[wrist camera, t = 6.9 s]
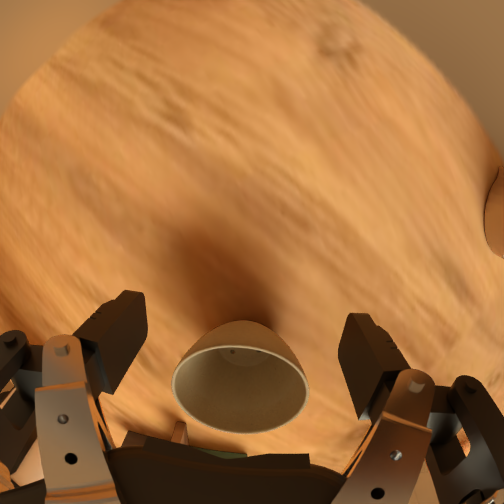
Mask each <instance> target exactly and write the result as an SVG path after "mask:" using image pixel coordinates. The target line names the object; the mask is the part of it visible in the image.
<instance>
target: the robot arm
mask: <svg viewBox="0 0 504 504" xmlns="http://www.w3.org/2000/svg"><path fill="white" fill-rule="evenodd" d="M485 233H486V239H487V242H488V245H489V247H490V248H491V250H492V251H493V252H494V253H495V254H496V255H498V256H500V257H502V258H503V259H504V167H499V174H498V177H497V179H496V181H495V182H494V184H493V185H492V188H491V190H490V192H489V195H488V199H487V203H486V209H485ZM147 332H148V324H147V315H146V305H145V296H144V294H143V293H142V292H136V291H130V290H124V291H123V292H122V293H121V294H120V295H119V296H118V297H117V298H116V299H115V300H111V301H109V302H107V303H104V304H102V305H101V306H100V307H99V308H98V309H97V310H96V311H95V313H93V314H92V315H91V316H90V318H88V319H87V320H86V321H85V322H84V323H83V324H82V325H81V326H80V327H79V328H78V329H77V330H76V331H75V332H74V333H73V335H66V334H64V335H57V336H54V337H52V338H50V339H49V340H48V341H47V342H46V343H45V344H44V346H38V345H29V342H28V340H27V337H26V335H25V333H23V332H22V331H19V330H12V331H8V332H5V333H3V334H2V335H1V336H0V392H1V391H2V389H3V388H4V387H5V386H6V384H7V383H8V382H9V381H10V379H11V380H12V382H13V384H14V386H15V388H16V390H15V391H14V393H13V394H12V395H11V397H10V398H9V399H8V401H7V402H6V404H5V405H4V406H3V408H2V409H1V408H0V504H408V502H409V500H410V498H411V495H412V493H413V490H414V488H415V485H416V483H417V480H418V477H419V474H420V472H421V469H422V466H423V463H424V460H425V459H426V462H427V465H428V468H429V471H430V474H431V478H432V481H433V484H434V487H435V491H436V494H437V498H438V501H439V504H504V417H503V415H502V413H501V412H500V410H499V409H498V407H497V405H496V404H495V402H494V401H493V399H492V398H491V396H490V395H489V393H488V392H487V390H486V389H485V388H484V386H483V385H482V383H481V382H480V381H478V380H477V379H475V378H474V377H471V376H467V375H462V376H459V377H457V378H456V380H455V381H454V383H453V385H452V386H451V387H446V386H436V385H435V383H434V381H433V379H432V378H431V377H430V376H429V375H428V374H426V373H425V372H423V371H420V370H417V369H411V368H410V366H409V364H408V363H407V361H406V360H405V358H404V357H403V355H402V353H401V352H400V350H399V349H397V346H396V344H395V343H394V342H393V340H392V338H391V336H390V335H389V333H388V332H386V331H385V330H384V329H383V328H381V327H380V326H376V324H375V323H374V321H373V320H372V318H371V317H370V315H369V314H367V313H350V314H349V315H348V317H347V319H346V323H345V327H344V330H343V333H342V337H341V340H340V343H339V348H338V359H339V363H340V365H341V368H342V371H343V374H344V377H345V380H346V383H347V386H348V389H349V392H350V395H351V398H352V401H353V404H354V407H355V411H356V414H357V417H358V420H367V419H370V420H371V423H372V424H371V425H370V427H369V428H368V430H367V432H366V434H365V436H364V437H363V439H362V441H361V443H360V444H359V446H358V448H357V450H356V451H355V453H354V455H353V456H352V458H351V459H350V461H349V463H348V464H347V466H346V467H345V468H344V470H343V471H342V473H341V474H340V473H338V472H336V471H333V470H331V469H328V468H326V467H322V466H319V465H315V464H310V459H309V453H308V454H264V455H257V456H250V457H242V458H233V459H224V458H221V457H218V456H215V455H212V454H209V453H206V452H203V451H201V450H198V449H196V448H193V447H190V446H188V445H186V444H181V443H176V442H171V441H166V440H162V439H158V438H154V437H150V436H147V438H146V441H145V443H144V446H143V445H135V446H124V447H119V448H116V446H115V444H114V442H113V439H112V437H111V434H110V431H109V428H108V425H107V422H106V419H105V415H104V412H103V409H102V405H101V402H100V399H99V395H100V393H101V392H105V393H108V394H112V395H113V394H114V392H115V391H116V389H117V387H118V386H119V384H120V382H121V380H122V379H123V377H124V375H125V374H126V372H127V370H128V368H129V367H130V365H131V363H132V362H133V360H134V358H135V357H136V355H137V353H138V352H139V350H140V348H141V347H142V345H143V344H144V342H145V340H146V337H147ZM35 426H37V437H38V445H39V452H40V459H41V464H42V470H43V475H44V478H43V479H41V480H38V481H35V482H32V483H29V484H26V485H23V486H20V487H17V488H14V485H13V484H12V483H11V477H10V472H11V470H12V468H13V466H14V464H15V462H16V460H17V458H18V456H19V454H20V453H21V451H22V449H23V447H24V445H25V443H26V442H27V440H28V438H29V436H30V435H31V433H32V431H33V430H34V428H35ZM462 427H463V429H464V431H465V433H466V435H467V437H468V439H469V441H470V445H471V448H470V452H469V454H468V456H467V457H466V456H465V454H464V452H463V449H462V447H461V445H460V443H459V440H458V438H457V436H456V434H457V433H458V432H459V430H460V429H461V428H462Z"/></svg>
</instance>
